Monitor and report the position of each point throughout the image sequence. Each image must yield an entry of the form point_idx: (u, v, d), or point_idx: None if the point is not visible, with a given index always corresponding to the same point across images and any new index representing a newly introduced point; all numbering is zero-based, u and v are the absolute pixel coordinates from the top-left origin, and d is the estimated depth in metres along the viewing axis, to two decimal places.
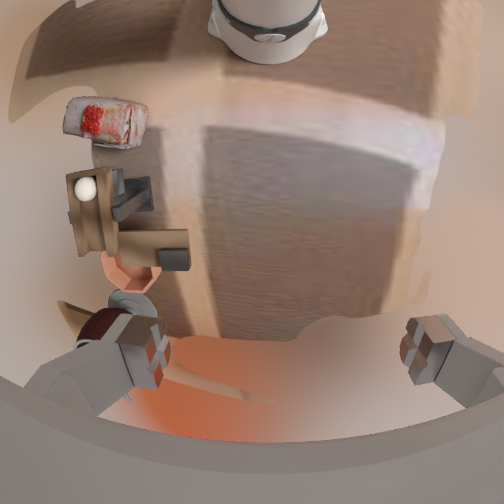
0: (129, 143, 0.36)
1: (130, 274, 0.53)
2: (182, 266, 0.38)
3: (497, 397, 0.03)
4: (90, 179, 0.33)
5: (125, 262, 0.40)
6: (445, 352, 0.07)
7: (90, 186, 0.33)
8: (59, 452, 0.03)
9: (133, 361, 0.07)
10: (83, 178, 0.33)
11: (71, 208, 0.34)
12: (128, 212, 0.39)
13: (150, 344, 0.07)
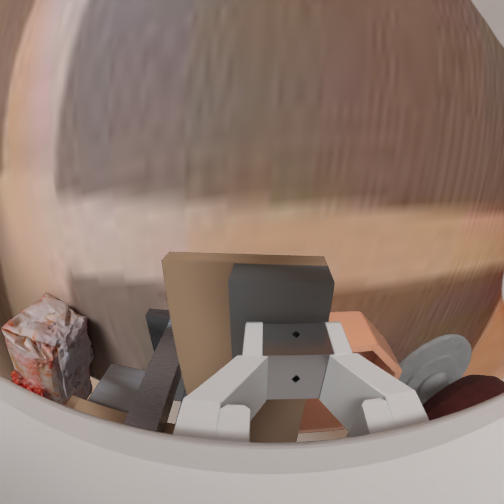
0: (52, 344, 0.17)
1: None
2: (308, 305, 0.08)
3: (497, 397, 0.03)
4: None
5: (283, 439, 0.13)
6: (322, 367, 0.07)
7: None
8: (59, 452, 0.03)
9: (279, 373, 0.07)
10: None
11: None
12: (160, 396, 0.14)
13: (299, 351, 0.07)
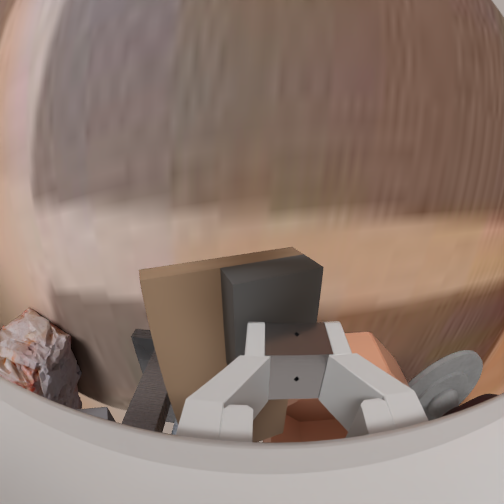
0: (32, 366, 0.14)
1: None
2: (303, 292, 0.09)
3: (497, 397, 0.03)
4: None
5: (272, 430, 0.13)
6: (321, 367, 0.07)
7: None
8: (59, 452, 0.03)
9: (281, 373, 0.07)
10: None
11: None
12: None
13: (301, 351, 0.07)
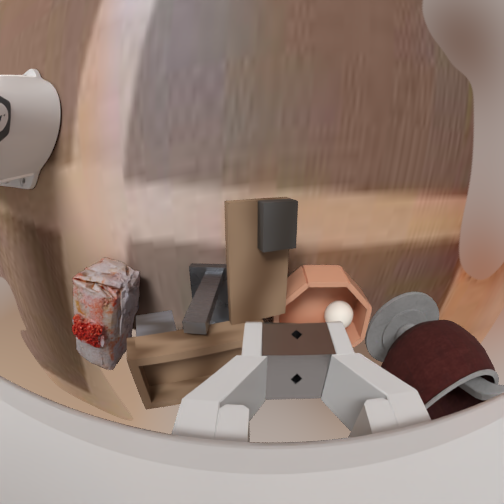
0: (118, 286, 0.28)
1: None
2: (290, 210, 0.22)
3: (497, 397, 0.03)
4: (332, 302, 0.33)
5: (279, 307, 0.27)
6: (324, 367, 0.07)
7: (332, 304, 0.32)
8: (59, 452, 0.03)
9: (278, 372, 0.07)
10: None
11: None
12: (206, 306, 0.25)
13: (298, 351, 0.07)
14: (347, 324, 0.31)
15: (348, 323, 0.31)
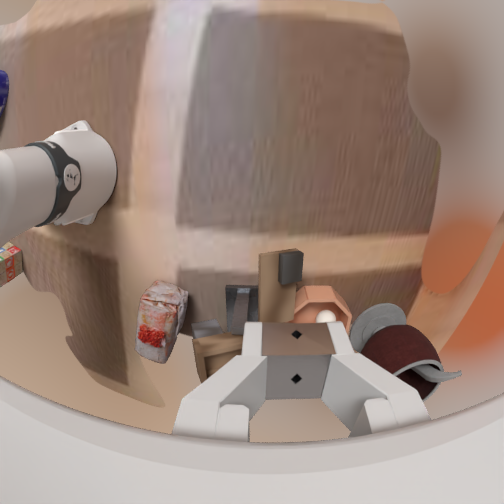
0: (177, 303, 0.42)
1: None
2: (298, 259, 0.36)
3: (497, 397, 0.03)
4: None
5: (289, 316, 0.41)
6: (323, 367, 0.07)
7: (321, 312, 0.46)
8: (59, 452, 0.03)
9: (278, 372, 0.07)
10: None
11: None
12: (243, 317, 0.39)
13: (297, 351, 0.07)
14: None
15: None
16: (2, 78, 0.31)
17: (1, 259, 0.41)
